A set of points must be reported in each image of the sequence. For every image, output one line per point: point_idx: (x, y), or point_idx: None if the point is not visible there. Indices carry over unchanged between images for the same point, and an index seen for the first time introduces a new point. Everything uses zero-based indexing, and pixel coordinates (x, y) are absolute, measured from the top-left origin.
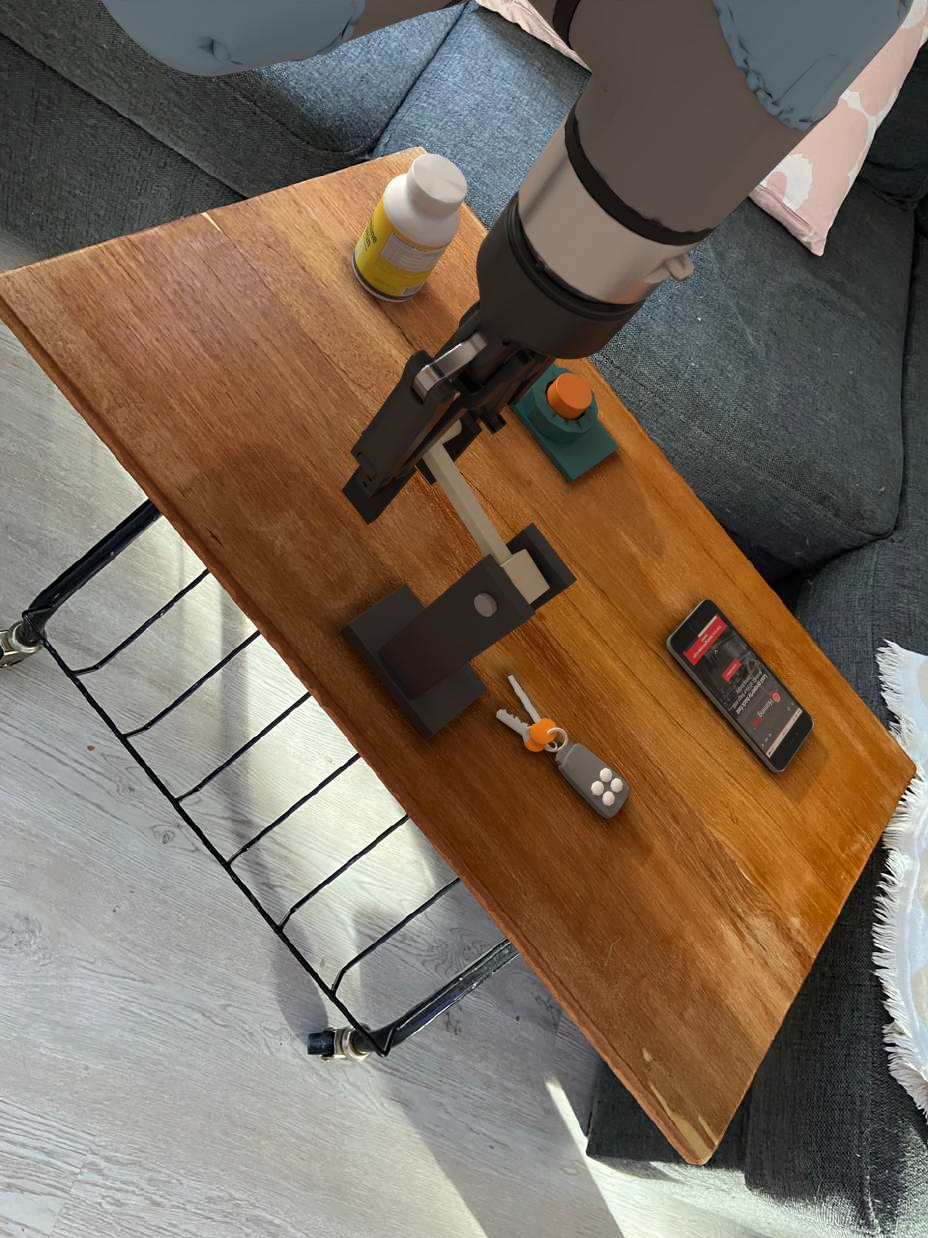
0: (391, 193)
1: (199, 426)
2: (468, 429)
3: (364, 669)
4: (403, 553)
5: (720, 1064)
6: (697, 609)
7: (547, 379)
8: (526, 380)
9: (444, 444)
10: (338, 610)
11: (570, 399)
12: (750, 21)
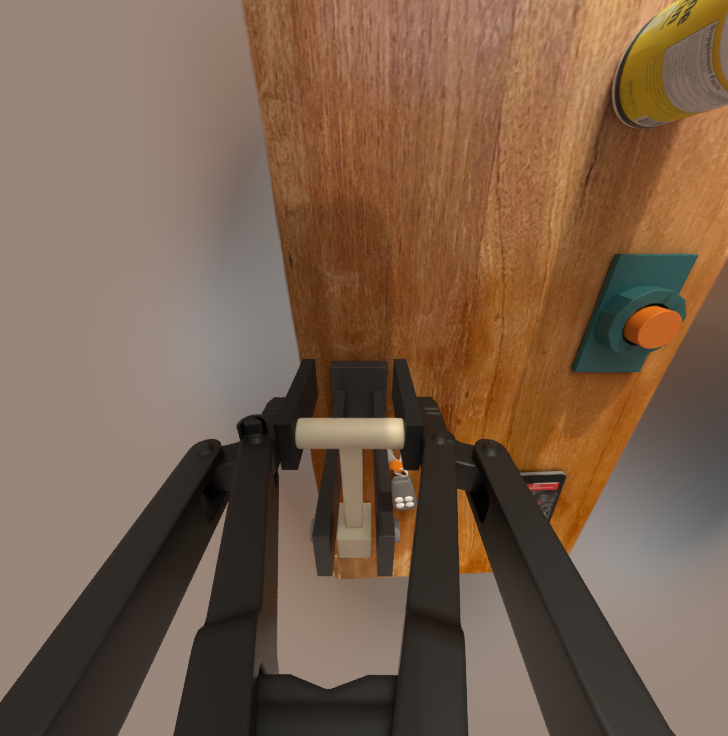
0: None
1: (333, 159)
2: (403, 459)
3: (330, 386)
4: (409, 343)
5: (361, 572)
6: (551, 474)
7: (654, 300)
8: (486, 543)
9: (398, 416)
10: (339, 350)
11: (645, 335)
12: None
